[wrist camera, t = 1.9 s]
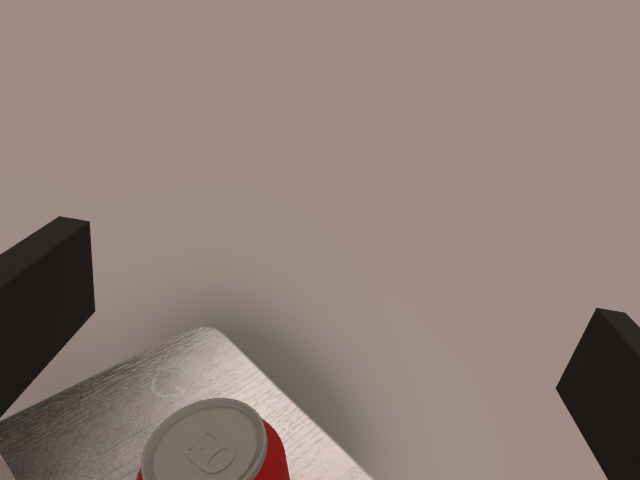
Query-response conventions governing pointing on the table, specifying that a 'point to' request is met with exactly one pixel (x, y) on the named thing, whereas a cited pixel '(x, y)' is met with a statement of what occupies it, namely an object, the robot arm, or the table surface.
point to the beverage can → (214, 445)
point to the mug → (5, 471)
